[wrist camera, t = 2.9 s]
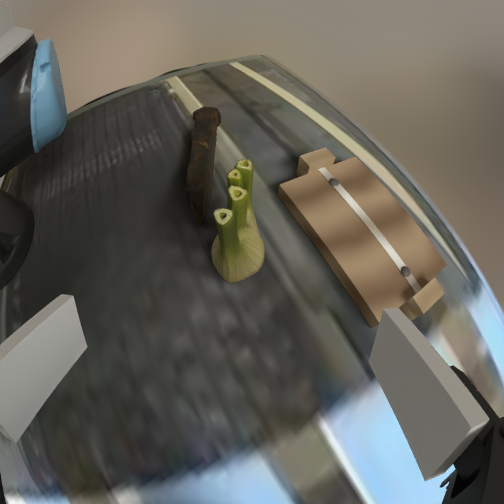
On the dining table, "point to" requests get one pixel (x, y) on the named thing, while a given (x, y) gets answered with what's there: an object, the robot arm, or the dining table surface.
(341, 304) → the dining table surface
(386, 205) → the tan wooden board
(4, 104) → the robot arm
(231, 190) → the fennel bulb
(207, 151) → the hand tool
